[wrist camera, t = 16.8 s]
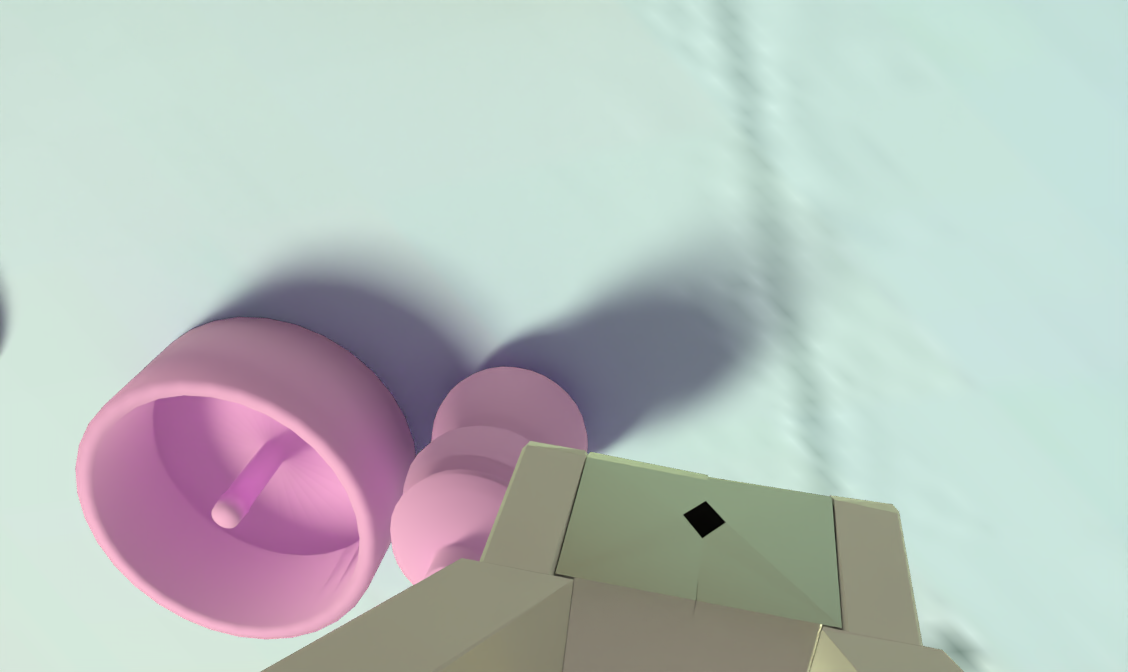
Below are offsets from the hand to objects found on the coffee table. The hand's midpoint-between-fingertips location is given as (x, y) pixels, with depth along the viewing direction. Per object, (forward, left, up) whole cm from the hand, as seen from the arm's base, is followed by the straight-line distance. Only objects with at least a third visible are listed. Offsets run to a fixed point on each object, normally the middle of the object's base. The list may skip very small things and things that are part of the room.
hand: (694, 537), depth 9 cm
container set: (+16, +26, -38) cm, 48 cm away
